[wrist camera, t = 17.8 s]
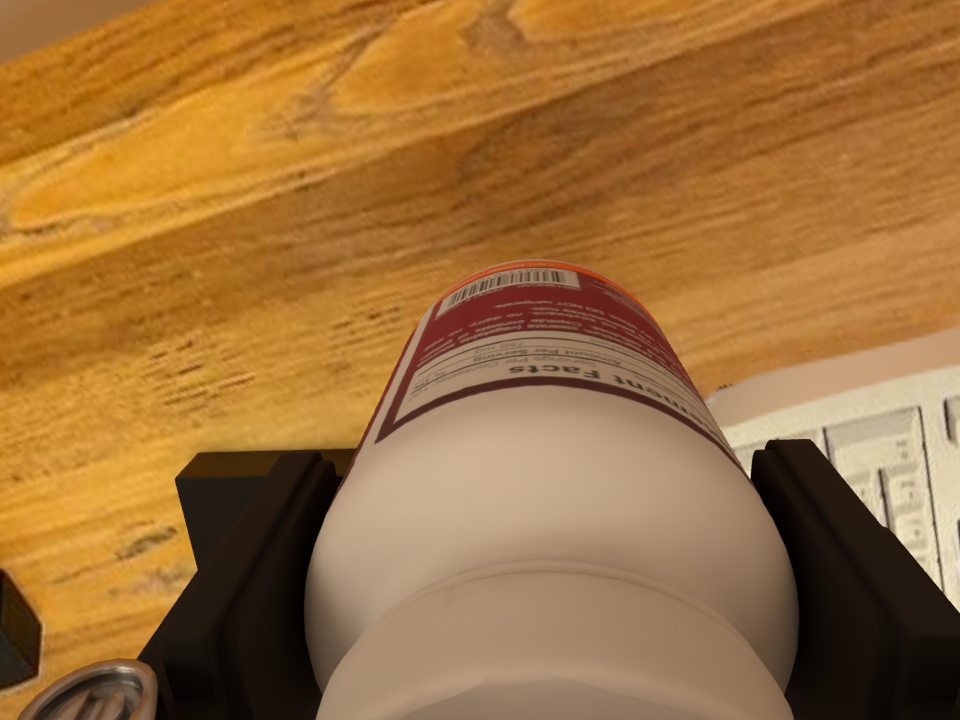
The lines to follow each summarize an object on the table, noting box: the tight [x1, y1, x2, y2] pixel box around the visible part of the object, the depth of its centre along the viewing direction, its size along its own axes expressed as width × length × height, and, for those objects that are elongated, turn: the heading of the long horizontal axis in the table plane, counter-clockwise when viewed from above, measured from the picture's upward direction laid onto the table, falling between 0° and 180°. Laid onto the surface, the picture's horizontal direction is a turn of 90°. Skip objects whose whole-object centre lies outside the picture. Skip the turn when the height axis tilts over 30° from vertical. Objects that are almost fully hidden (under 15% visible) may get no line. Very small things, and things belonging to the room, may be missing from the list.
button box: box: [175, 449, 357, 569], centre depth 29 cm, size 12×8×4 cm, turn 94°
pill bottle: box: [304, 259, 799, 720], centre depth 11 cm, size 6×6×11 cm
